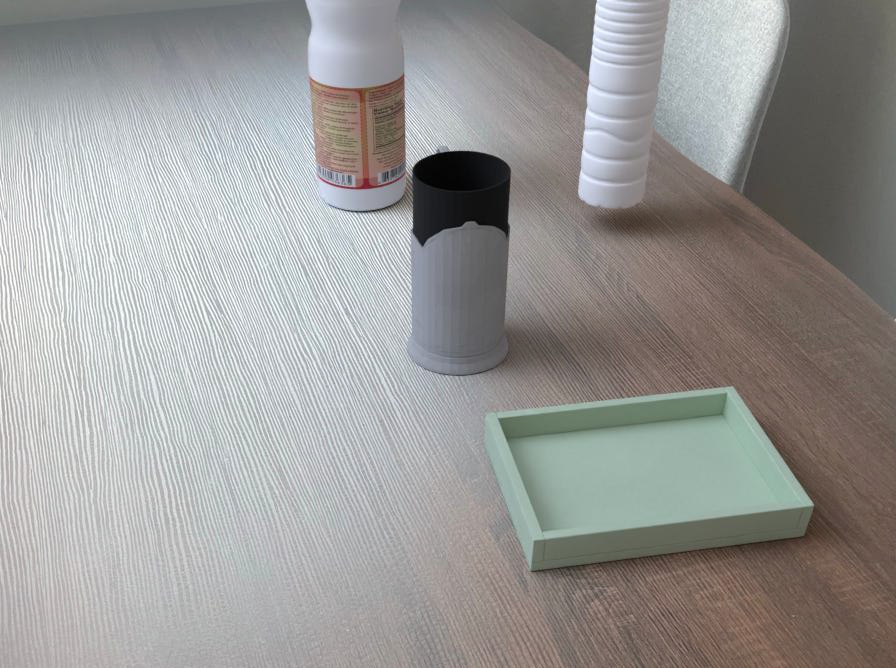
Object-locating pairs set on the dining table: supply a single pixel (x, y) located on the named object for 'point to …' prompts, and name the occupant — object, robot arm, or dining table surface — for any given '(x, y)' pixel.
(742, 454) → the rectangular tray
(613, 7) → the water bottle
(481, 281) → the glass holder
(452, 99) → the dining table surface
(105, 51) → the dining table surface
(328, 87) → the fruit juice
